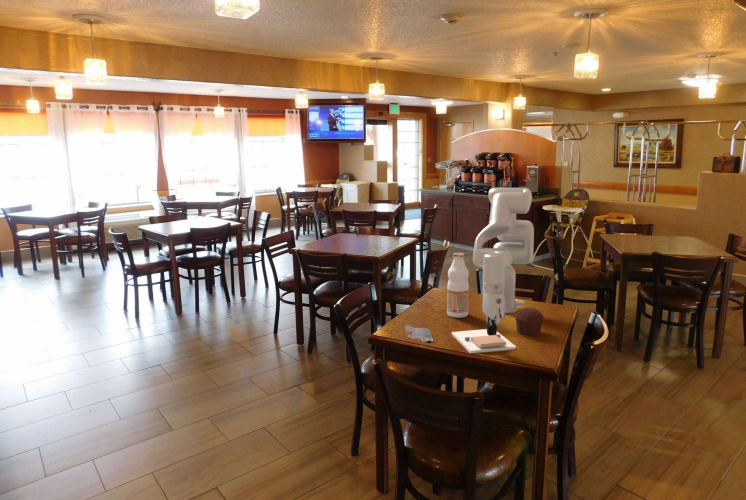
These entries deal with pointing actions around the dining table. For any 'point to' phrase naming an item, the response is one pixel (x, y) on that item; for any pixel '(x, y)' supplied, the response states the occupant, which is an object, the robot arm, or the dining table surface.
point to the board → (471, 347)
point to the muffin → (529, 321)
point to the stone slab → (419, 333)
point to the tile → (488, 341)
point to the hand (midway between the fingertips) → (491, 334)
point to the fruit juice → (458, 287)
